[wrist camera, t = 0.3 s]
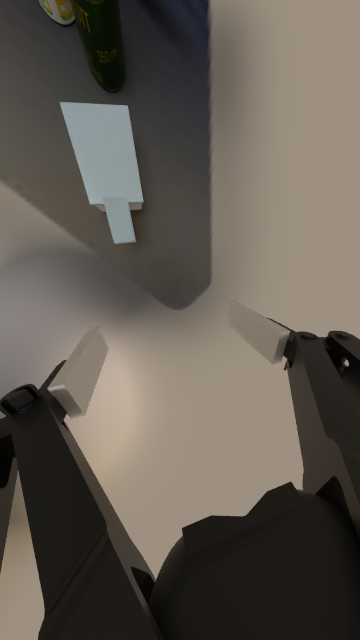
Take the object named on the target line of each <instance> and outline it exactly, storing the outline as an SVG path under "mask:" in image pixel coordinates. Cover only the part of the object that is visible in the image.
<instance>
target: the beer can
mask: <svg viewBox="0 0 360 640" xmlns="http://www.w3.org/2000/svg"><path fill="white" fill-rule="evenodd" d="M70 4H71V7H72V10H73V14H74V17H75V21H76V24H77V27H78V31H79V34H80V37H81V41H82V44H83V48H84V51H85V54H86V58H87V61H88V64H89V67H90V69H91V71H92V74H93V75H94V77H95V78H96V80H97V81H98V82H99V83H100V85H102V86H103V87H104V88H105V89H107V90H109V91H116V90H118V89H119V88H120V86H121V85H122V83H123V80H124V77H125V61H124V51H123V41H122V31H121V21H120V12H119V2H118V0H70Z"/></svg>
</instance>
